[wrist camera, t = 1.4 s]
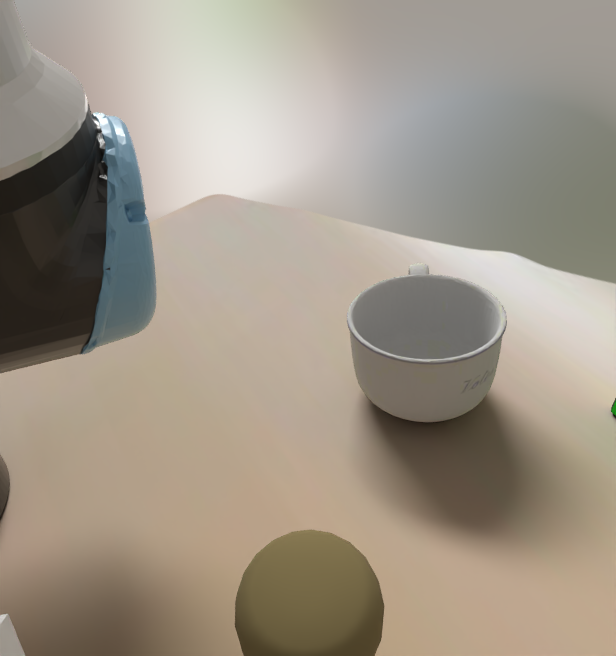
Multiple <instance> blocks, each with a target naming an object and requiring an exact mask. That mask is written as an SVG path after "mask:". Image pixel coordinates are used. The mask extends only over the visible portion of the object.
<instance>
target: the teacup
mask: <svg viewBox="0 0 616 656" xmlns="http://www.w3.org/2000/svg"><path fill="white" fill-rule="evenodd" d="M347 323H348V327H349V330H350V338H351V348H352V356H353V363H354V369H355V373H356V377H357V380H358V383H359V385H360V387H361V389H362V390H363V392H364V393H365V395H366V396H367V397H368V398H369V399H370V400H371V401H372V402H373V403H374V404H375V405H376V406H378V407H379V408H380V409H382V410H383V411H385V412H387V413H389V414H391V415H393V416H396V417H399V418H402V419H406V420H410V421H416V422H438V421H445V420H449V419H452V418H456V417H458V416H461V415H463V414H465V413H467V412H468V411H470V410H472V409H473V408H474V407H476V406H477V405H478V404H479V403H480V402H481V401H482V400H483V399H484V397H485V396H486V394H487V393H488V391H489V389H490V387H491V385H492V382H493V379H494V376H495V372H496V368H497V363H498V359H499V354H500V348H501V341H502V336H503V334H504V331H505V329H506V324H507V320H506V312H505V310H504V308H503V306H502V305H501V304H500V302H499V301H498V299H497V298H496V297H495V296H494V295H493V294H492V293H490V292H489V291H488V290H486V289H484V288H482V287H480V286H479V285H476V284H474V283H472V282H469V281H466V280H463V279H460V278H455V277H450V276H442V275H432V274H430V275H429V268H428V266H427V265H426V264H422V263H417V264H412V265H411V266H410V267H409V275H405V276H400V277H394V278H391V279H387V280H383V281H381V282H378V283H376V284H374V285H372V286H370V287H369V288H367V289H365V290H364V291H363V292H361V293H360V294H359V295H358V296H357V297H356V298H355V299H354V301H353V302H352V303H351V305H350V307H349V310H348V313H347Z"/></svg>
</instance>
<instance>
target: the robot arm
mask: <svg viewBox="0 0 616 656" xmlns="http://www.w3.org/2000/svg"><path fill="white" fill-rule="evenodd" d="M145 209H146V208H145V202H144V195H143V186H142V180H141V175H140V170H139V166H138V162H137V157H136V153H135V150H134V146H133V143H132V140H131V137H130V134H129V132H128V129H127V127H126V125H125V123H124V122H123V121H122V120H121V119H120V118H118V117H115V116H106V115H105V114H103V113H100V114H99V112H97V113H93V114H91V111H90V108H89V104H88V101H87V96H86V94H85V91H84V88H83V86H82V84H81V83H80V82H79V80H78V79H77V78H76V77H75V76H74V75H73V74H72V73H71V72H70V71H68V70H67V69H65V68H64V67H62V66H61V65H59V64H58V63H56V62H54V61H53V60H51V59H50V58H48V57H47V56H45V55H44V54H42V53H40V52H39V51H37V50H36V49H34V48H33V47H32V46H31V45H30V43H29V42H28V39H27V36H26V33H25V30H24V27H23V25H22V22H21V19H20V16H19V13H18V11H17V8H16V5H15V2H14V0H0V373H4V372H8V371H12V370H16V369H20V368H24V367H28V366H32V365H36V364H40V363H44V362H48V361H52V360H57V359H61V358H65V357H69V356H73V355H77V354H86V353H89V352H91V351H92V350H93V349H94V348H96V347H99V346H102V345H105V344H108V343H111V342H114V341H117V340H120V339H123V338H126V337H129V336H132V335H135V334H137V333H139V332H140V331H142V330H143V329H144V328H145V327H146V326H147V325H148V324H149V323H150V321H151V319H152V317H153V315H154V312H155V307H156V276H155V265H154V255H153V247H152V240H151V233H150V227H149V222H148V219H147V216H146V215H145ZM8 492H9V473H8V469H7V466H6V464H5V462H4V460H3V458H2V457H1V455H0V516H1V514H2V512H3V509H4V507H5V504H6V501H7V497H8ZM0 656H25V654H24V651H23V649H22V646H21V644H20V641H19V639H18V636H17V634H16V632H15V629H14V627H13V624H12V622H11V619H10V617H9V614H3V615H0Z"/></svg>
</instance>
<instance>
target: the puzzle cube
mask: <svg viewBox="0 0 616 656" xmlns="http://www.w3.org/2000/svg"><path fill="white" fill-rule="evenodd" d="M611 412H612V413H613V414H614V415H615V416H616V398H615V401H614V403H613V405H612V408H611Z"/></svg>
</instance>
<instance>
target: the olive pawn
mask: <svg viewBox="0 0 616 656" xmlns="http://www.w3.org/2000/svg"><path fill="white" fill-rule="evenodd" d="M383 615H384V603H383V598H382V594H381V589H380V585H379V581H378V579H377V577H376V575H375V573H374V571H373V570H372V568H371V566H370V564H369V563H368V561H367V559H366V557H365V556H364V555H363V554H362V553H361V552H360V551H359V550H357V549H356V548H355V547H354V546H353V545H352V544H351V543H350V542H348V541H346V540H344V539H342V538H340V537H338V536H336V535H334V534H332V533H328V532H322V531H316V530H304V531H296V532H291V533H289V534H287V535H284V536H282V537H280V538H277V539H275V540H273V541H272V542H271V543H269V544H268V545H267V546H266V547H265V548H263V549H262V550H261V551H260V552H258V553H257V554H256V556H255V557H254V558H253V560H252V561H251V563H250V564H249V566H248V567H247V569H246V570H245V572H244V574H243V577H242V580H241V583H240V586H239V589H238V593H237V597H236V602H235V628H236V631H237V635H238V638H239V641H240V645H241V648H242V651H243V654H244V656H375V653H376V651H377V648H378V646H379V643H380V641H381V637H382V626H383Z"/></svg>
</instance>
